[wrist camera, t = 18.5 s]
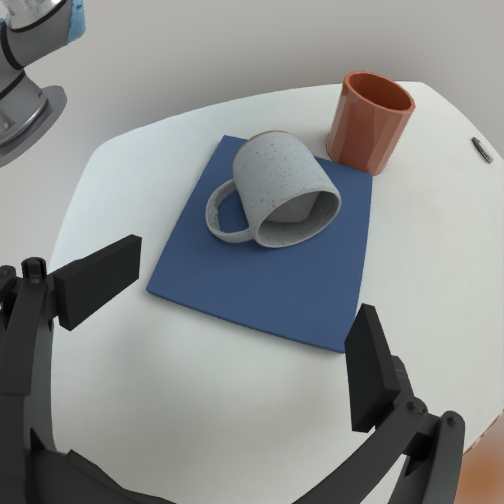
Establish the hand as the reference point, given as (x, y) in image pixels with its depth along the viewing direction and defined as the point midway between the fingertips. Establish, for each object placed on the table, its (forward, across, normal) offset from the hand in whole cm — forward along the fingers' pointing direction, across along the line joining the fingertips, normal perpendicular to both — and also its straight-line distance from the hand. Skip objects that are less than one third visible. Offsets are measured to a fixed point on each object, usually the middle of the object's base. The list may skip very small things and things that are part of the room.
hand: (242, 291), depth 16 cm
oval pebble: (+34, +32, +21) cm, 51 cm away
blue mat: (+13, 0, 0) cm, 13 cm away
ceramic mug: (+13, -1, +1) cm, 13 cm away
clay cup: (+23, +7, +10) cm, 26 cm away
